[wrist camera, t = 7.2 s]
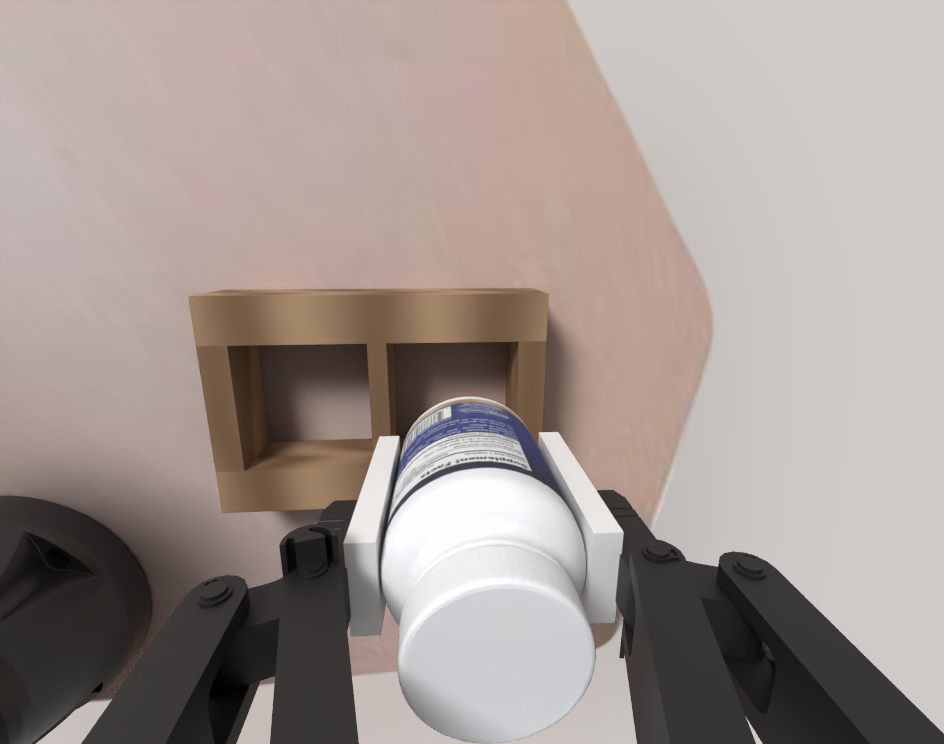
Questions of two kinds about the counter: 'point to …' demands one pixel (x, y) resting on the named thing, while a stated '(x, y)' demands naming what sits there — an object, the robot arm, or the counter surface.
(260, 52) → the counter surface
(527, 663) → the pill bottle
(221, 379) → the socket board
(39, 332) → the counter surface
